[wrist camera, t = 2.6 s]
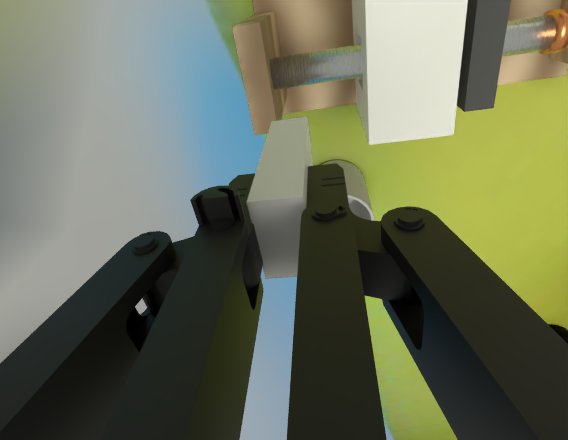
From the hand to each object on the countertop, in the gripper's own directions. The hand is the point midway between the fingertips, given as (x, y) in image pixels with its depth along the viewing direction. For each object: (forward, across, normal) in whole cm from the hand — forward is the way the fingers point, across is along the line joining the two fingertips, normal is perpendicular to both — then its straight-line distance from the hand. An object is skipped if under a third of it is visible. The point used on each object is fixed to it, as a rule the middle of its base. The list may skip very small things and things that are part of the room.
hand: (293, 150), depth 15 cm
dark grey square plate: (+20, +12, 0) cm, 24 cm away
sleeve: (+21, +7, 0) cm, 23 cm away
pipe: (+18, +10, 0) cm, 21 cm away
